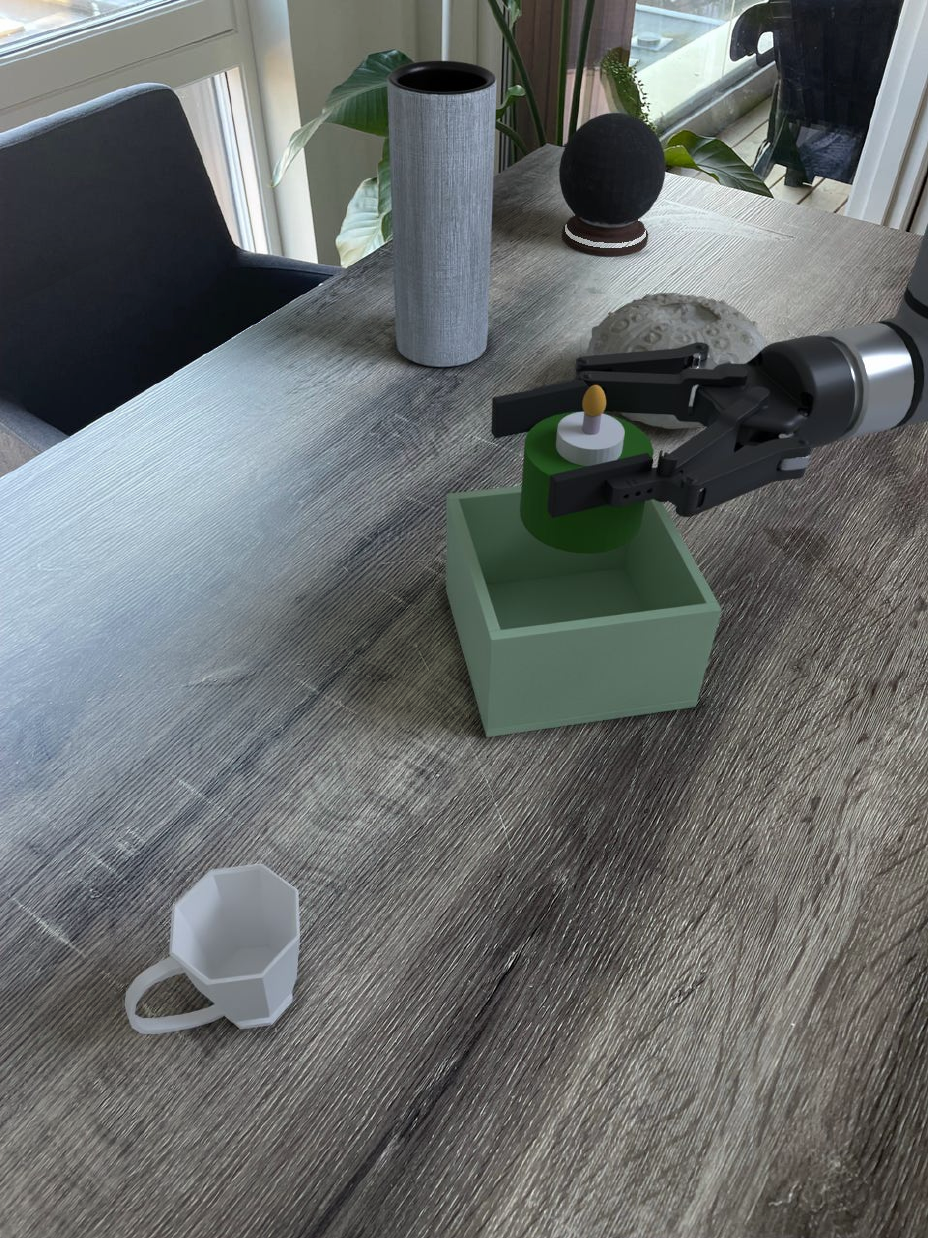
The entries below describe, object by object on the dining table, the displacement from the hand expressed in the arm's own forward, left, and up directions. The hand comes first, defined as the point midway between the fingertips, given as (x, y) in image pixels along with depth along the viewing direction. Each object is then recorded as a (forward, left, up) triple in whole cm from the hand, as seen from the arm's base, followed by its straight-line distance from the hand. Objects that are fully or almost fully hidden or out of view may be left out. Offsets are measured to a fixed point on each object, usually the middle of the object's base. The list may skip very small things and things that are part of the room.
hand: (521, 455), depth 63 cm
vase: (+48, -4, -19) cm, 52 cm away
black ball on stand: (+72, -30, -19) cm, 80 cm away
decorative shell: (+33, -25, -19) cm, 45 cm away
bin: (+1, -5, -19) cm, 19 cm away
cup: (-23, +21, -19) cm, 37 cm away
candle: (+1, -5, -6) cm, 8 cm away
